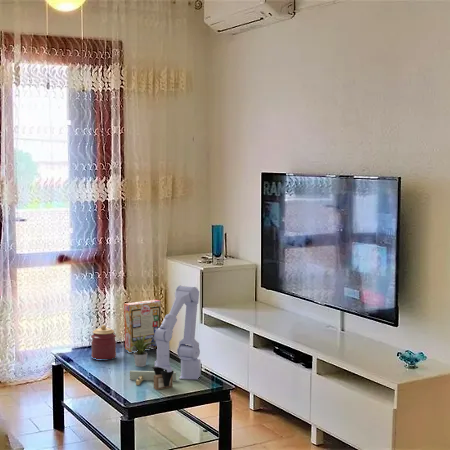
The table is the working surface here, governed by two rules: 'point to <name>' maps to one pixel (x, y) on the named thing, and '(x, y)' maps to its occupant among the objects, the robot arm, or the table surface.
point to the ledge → (144, 376)
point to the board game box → (141, 322)
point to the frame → (161, 382)
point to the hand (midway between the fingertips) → (163, 384)
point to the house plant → (140, 351)
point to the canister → (103, 343)
